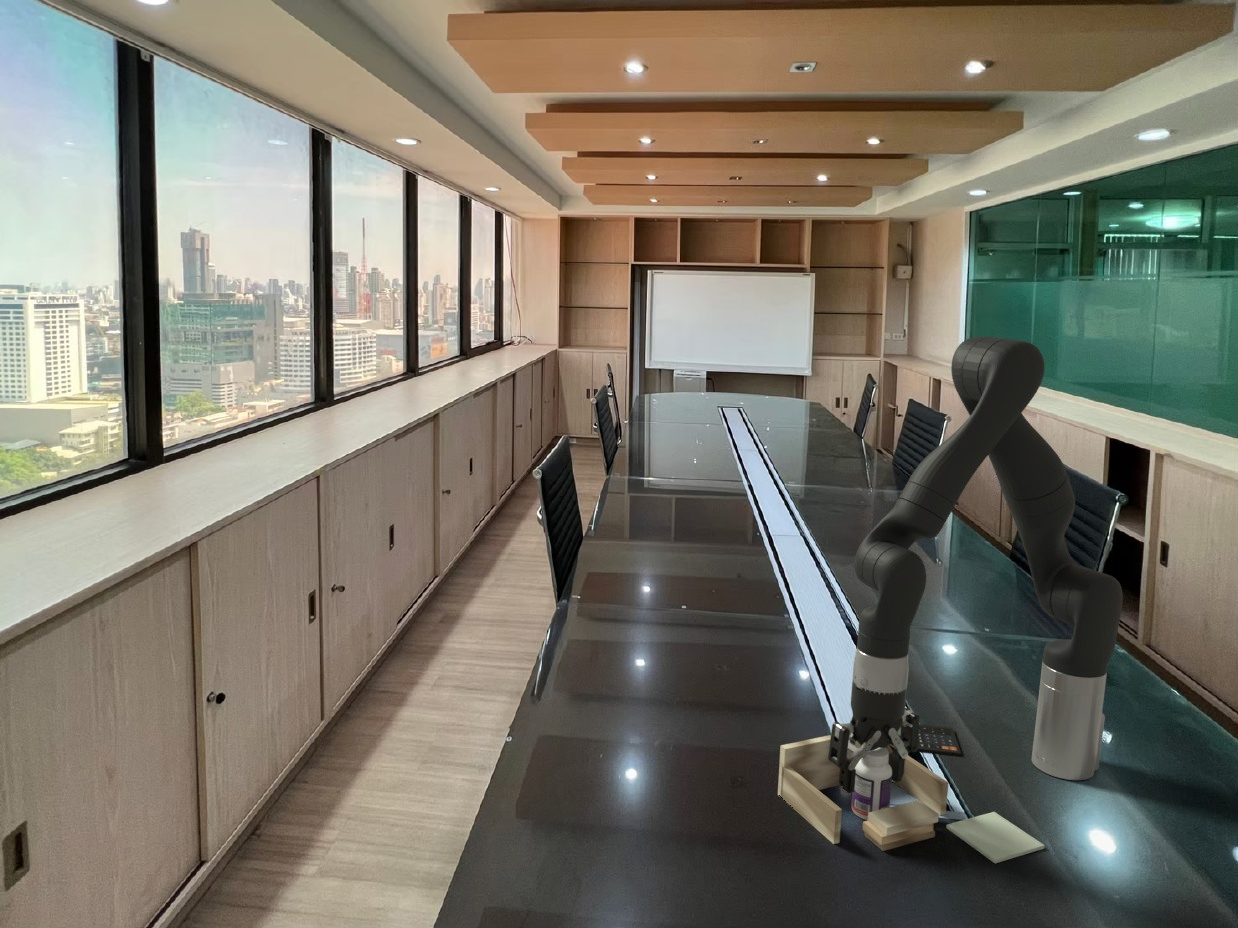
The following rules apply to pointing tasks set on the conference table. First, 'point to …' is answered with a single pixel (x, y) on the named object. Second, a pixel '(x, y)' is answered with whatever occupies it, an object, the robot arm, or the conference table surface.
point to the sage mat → (995, 837)
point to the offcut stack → (900, 825)
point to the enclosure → (813, 771)
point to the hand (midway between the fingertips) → (870, 784)
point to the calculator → (936, 740)
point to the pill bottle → (872, 783)
